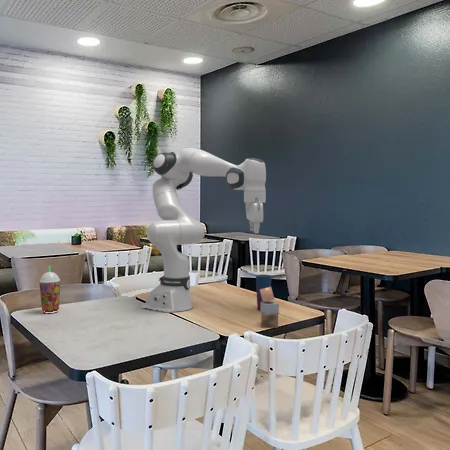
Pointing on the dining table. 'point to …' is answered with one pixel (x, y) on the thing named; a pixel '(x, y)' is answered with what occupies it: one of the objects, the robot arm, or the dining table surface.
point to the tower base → (269, 321)
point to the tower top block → (269, 308)
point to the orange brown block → (267, 294)
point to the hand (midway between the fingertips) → (254, 232)
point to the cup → (262, 286)
